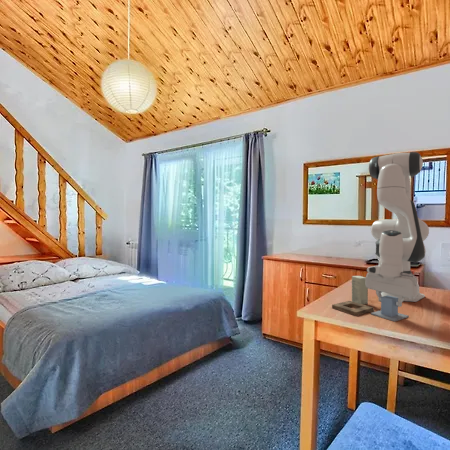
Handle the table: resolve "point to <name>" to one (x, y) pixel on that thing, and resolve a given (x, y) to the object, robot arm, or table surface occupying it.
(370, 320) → the table surface
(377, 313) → the ceramic pad
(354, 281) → the skincare box
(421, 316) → the table surface
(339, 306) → the walnut stand
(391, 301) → the blue block
